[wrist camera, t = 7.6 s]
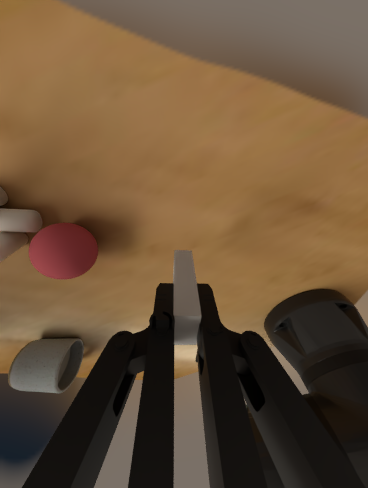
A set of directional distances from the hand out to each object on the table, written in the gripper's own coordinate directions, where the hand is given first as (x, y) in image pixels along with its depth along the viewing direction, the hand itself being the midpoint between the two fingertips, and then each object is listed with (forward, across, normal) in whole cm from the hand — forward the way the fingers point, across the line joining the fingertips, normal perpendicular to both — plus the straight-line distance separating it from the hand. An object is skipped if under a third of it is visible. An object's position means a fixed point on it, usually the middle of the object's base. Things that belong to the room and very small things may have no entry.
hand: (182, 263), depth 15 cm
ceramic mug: (+8, +21, +26) cm, 34 cm away
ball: (+4, +12, +2) cm, 13 cm away
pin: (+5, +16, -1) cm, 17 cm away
